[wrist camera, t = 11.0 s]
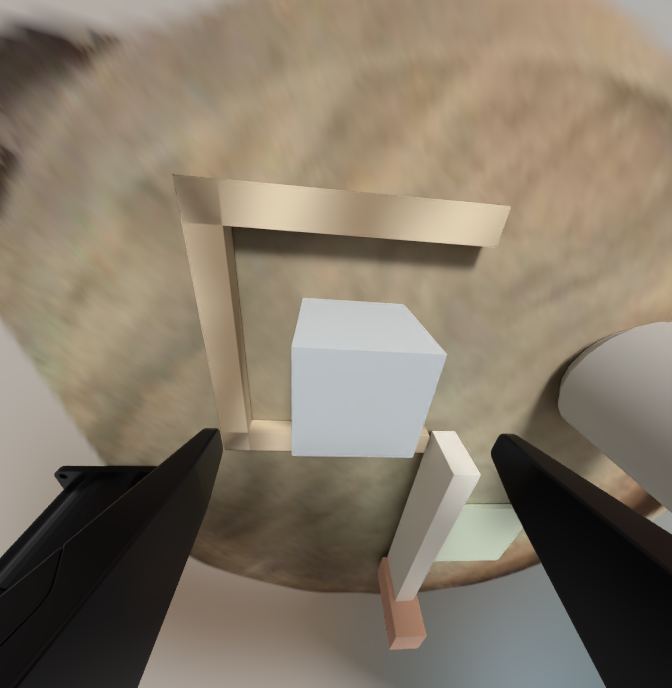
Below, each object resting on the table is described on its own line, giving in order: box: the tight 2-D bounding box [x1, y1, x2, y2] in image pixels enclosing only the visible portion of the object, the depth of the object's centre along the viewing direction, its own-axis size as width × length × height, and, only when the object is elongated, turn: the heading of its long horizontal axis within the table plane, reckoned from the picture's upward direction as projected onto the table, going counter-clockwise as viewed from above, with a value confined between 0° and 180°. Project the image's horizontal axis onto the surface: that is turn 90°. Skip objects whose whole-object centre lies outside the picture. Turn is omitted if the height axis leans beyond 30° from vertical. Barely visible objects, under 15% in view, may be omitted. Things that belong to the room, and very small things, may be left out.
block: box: [292, 298, 447, 458], centre depth 11 cm, size 5×5×5 cm
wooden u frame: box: [172, 174, 511, 453], centre depth 13 cm, size 12×14×1 cm
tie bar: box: [378, 431, 481, 649], centre depth 18 cm, size 2×20×5 cm, turn 176°
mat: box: [435, 504, 523, 561], centre depth 23 cm, size 9×9×1 cm
